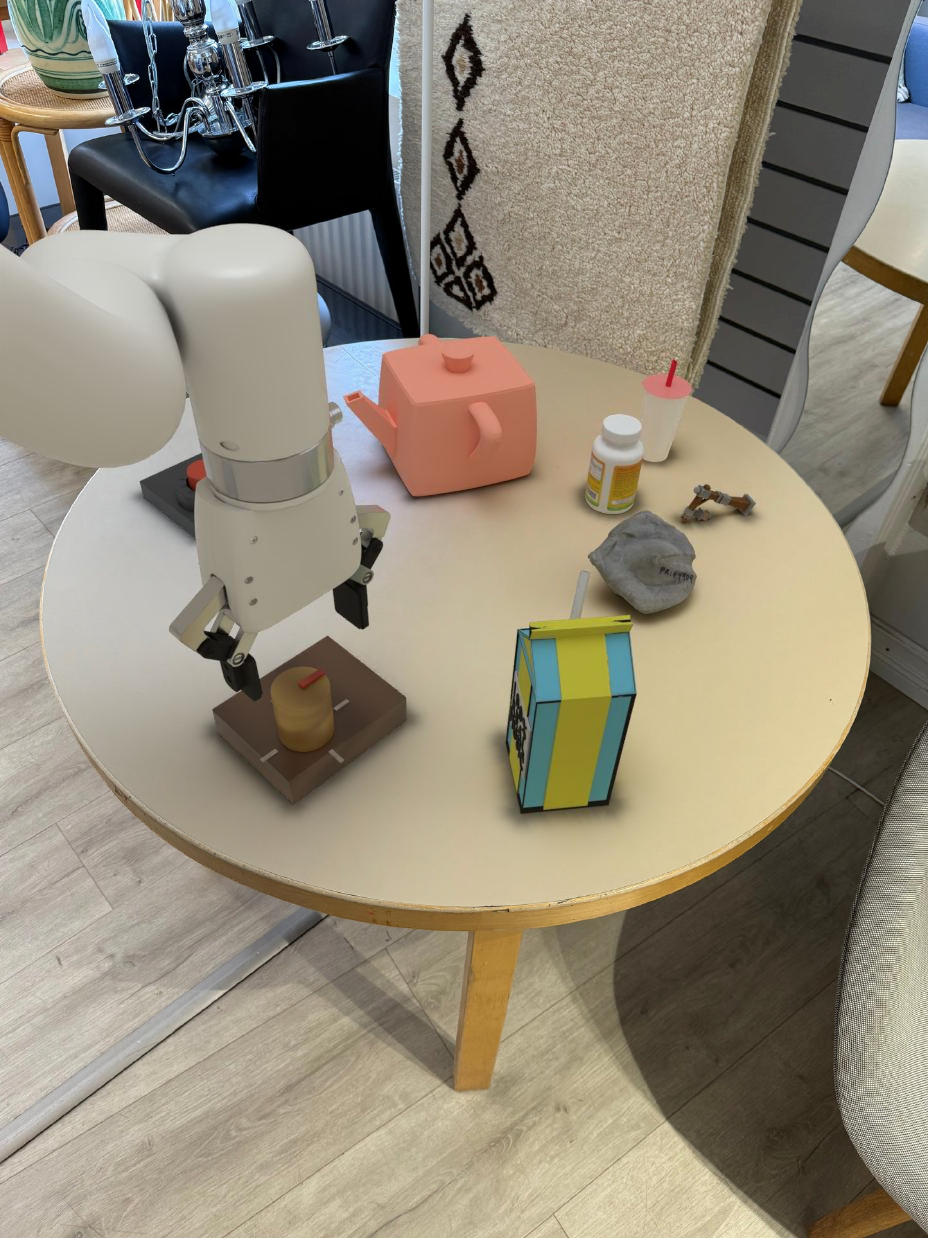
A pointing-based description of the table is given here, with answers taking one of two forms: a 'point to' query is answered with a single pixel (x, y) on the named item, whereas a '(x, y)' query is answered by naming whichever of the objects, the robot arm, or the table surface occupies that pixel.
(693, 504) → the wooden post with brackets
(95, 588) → the table surface
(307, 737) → the knob
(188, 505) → the button block
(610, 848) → the table surface
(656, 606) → the fossil
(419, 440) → the teapot
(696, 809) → the table surface
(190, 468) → the button
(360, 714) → the panel
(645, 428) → the cup
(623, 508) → the supplement bottle
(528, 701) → the carton
